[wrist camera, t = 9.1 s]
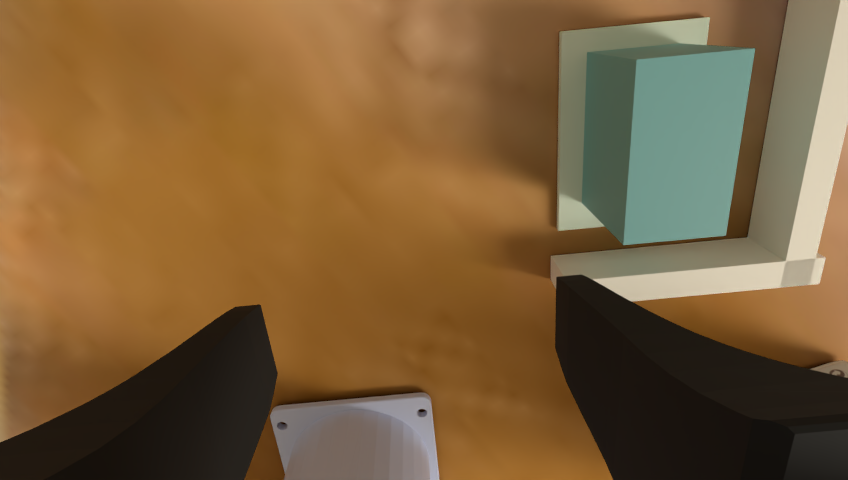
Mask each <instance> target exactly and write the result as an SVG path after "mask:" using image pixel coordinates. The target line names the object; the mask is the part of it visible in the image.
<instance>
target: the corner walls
mask: <svg viewBox="0 0 848 480" xmlns="http://www.w3.org/2000/svg"><path fill="white" fill-rule="evenodd" d="M847 123H848V0H788V6H787V12H786V18H785V23H784V29H783V35H782V41H781V46H780V52H779V58H778V64H777V70H776V75H775V81H774V87H773V93H772V98H771V104H770V110H769V116H768V121H767V127H766V133H765V139H764V144H763V150H762V156H761V162H760V167H759V173H758V179H757V185H756V190H755V196H754V202H753V208H752V213H751V219H750V225H749V231H748V237H745V238H734V239H724V240H713V241H702V242H692V243H681V244H671V245H660V246H649V247H639V248H628V249H617V250H607V251H596V252H586V253H575V254H564V255H554V256H551V281H552V283H553V285H554V287H555V288H556V277H560V276H570V275H581V274H582V275H584V276H586V277H588V278H590V279H592V280H594V281H596V282H598V283H599V284H601V285H603V286H605V287H606V288H608V289H610V290H612V291H613V292H615V293H617V294H619V295H620V296H622V297H624V298H626V299H627V300H629V301H642V300H652V299H663V298H674V297H685V296H695V295H706V294H717V293H727V292H738V291H749V290H760V289H770V288H781V287H792V286H802V285H813V284H819V283H820V279H821V275H822V271H823V267H824V263H825V259H826V257H824V256H822V255H820V254H819V253H817V251H818V247H819V243H820V238H821V234H822V230H823V226H824V221H825V217H826V213H827V209H828V204H829V200H830V196H831V192H832V187H833V183H834V179H835V175H836V170H837V166H838V162H839V158H840V153H841V149H842V145H843V140H844V136H845V132H846V128H847Z"/></svg>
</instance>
